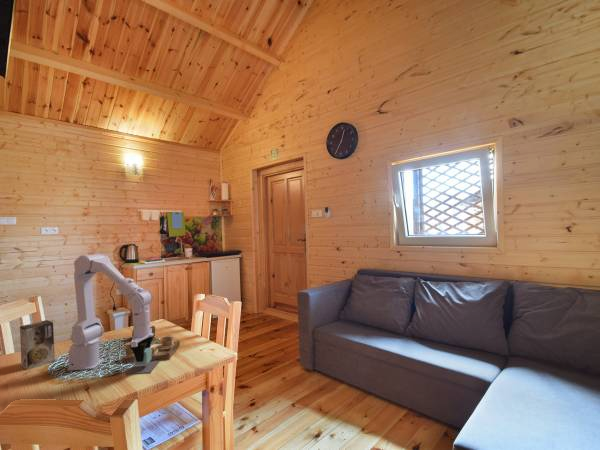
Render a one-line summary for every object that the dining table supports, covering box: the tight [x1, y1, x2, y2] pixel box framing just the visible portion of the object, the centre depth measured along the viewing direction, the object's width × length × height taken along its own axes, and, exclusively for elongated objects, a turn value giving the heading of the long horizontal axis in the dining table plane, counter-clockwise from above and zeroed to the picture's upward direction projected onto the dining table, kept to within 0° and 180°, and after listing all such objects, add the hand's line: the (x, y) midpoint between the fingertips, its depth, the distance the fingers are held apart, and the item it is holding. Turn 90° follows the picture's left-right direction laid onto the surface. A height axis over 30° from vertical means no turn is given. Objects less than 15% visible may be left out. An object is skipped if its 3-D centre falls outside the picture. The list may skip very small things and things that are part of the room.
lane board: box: [121, 340, 181, 364], centre depth 130 cm, size 18×14×2 cm
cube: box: [133, 348, 152, 365], centre depth 117 cm, size 4×4×4 cm
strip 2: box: [150, 334, 175, 349], centre depth 134 cm, size 11×4×5 cm, turn 95°
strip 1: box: [124, 341, 158, 356], centre depth 127 cm, size 12×4×5 cm, turn 95°
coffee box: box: [19, 319, 56, 370], centre depth 124 cm, size 9×6×16 cm
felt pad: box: [124, 360, 160, 376], centre depth 117 cm, size 9×9×1 cm
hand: (142, 358), depth 117 cm, fingers closed on cube, 4 cm apart
